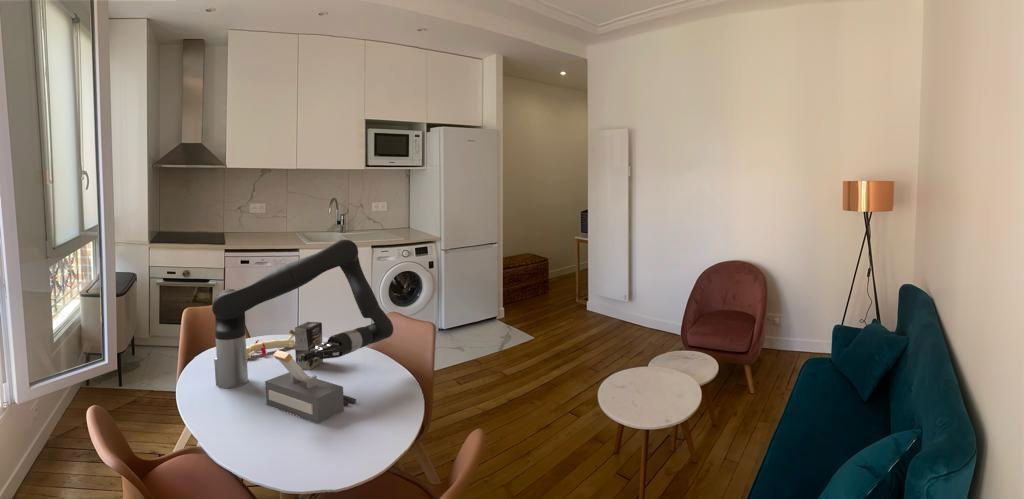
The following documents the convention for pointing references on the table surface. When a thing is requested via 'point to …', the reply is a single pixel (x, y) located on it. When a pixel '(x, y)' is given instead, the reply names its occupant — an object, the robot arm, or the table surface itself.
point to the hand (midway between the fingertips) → (302, 358)
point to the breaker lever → (291, 365)
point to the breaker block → (306, 397)
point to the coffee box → (307, 342)
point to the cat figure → (270, 345)
